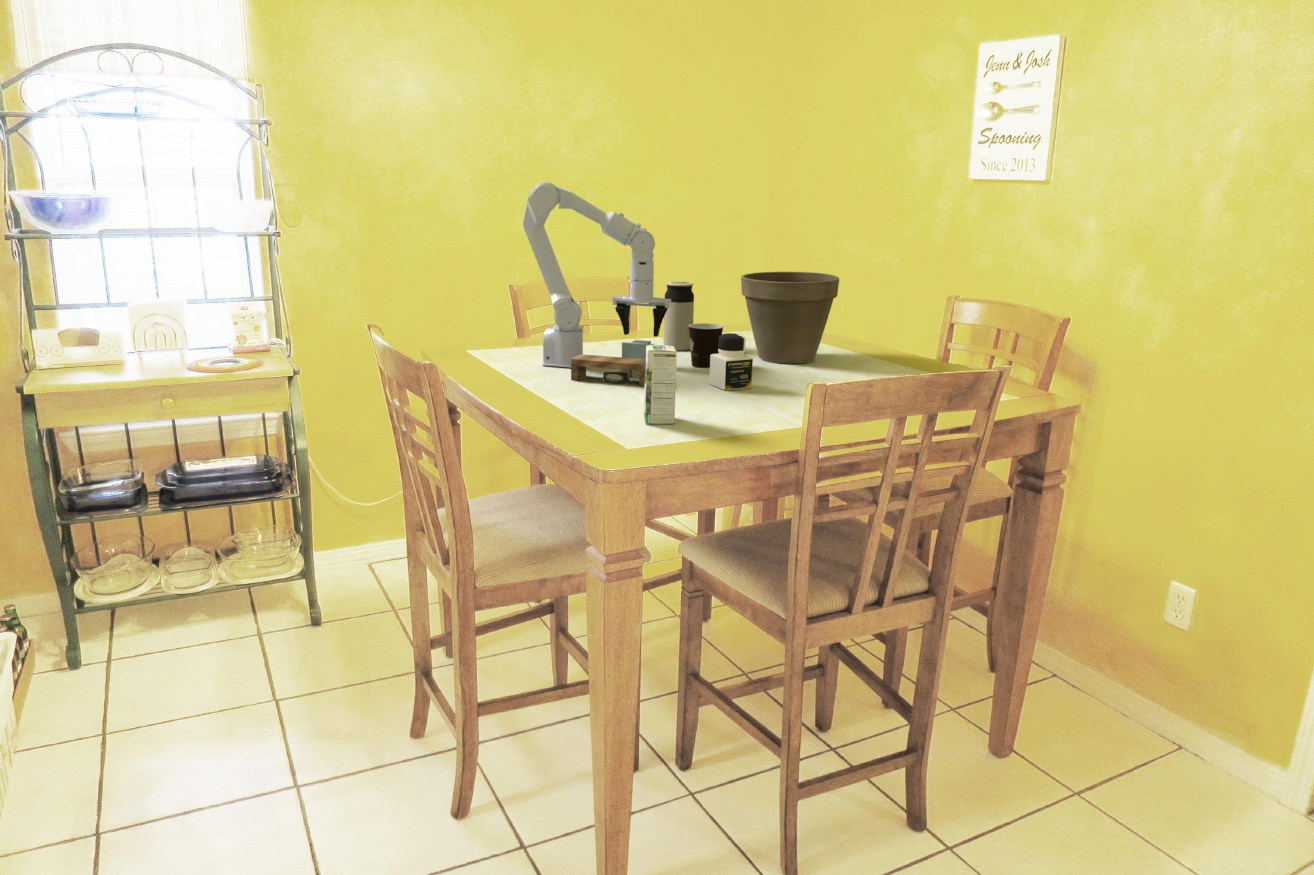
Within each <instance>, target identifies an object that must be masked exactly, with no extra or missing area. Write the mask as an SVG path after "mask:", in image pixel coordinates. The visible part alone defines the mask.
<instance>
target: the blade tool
mask: <svg viewBox="0 0 1314 875" xmlns="http://www.w3.org/2000/svg"><path fill="white" fill-rule="evenodd" d="M649 345H655V344H654V343H652V340H643V339H635V340H633V341H631V342H626V341H622V342H621V357H623V358H636V359H646V346H649ZM627 371H629V379H634V378H635V377H636V376H639V373H640V371H635V370H627Z"/></svg>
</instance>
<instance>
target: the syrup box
mask: <svg viewBox="0 0 1314 875" xmlns="http://www.w3.org/2000/svg"><path fill="white" fill-rule="evenodd" d="M677 353H678V351H676V349H675V347H674V346H668V345H664V344H654V345H649V346H646V366H645V386H644V392H643V393H644V397H643V399H644V400H643V419H644V423H645V425H667V424H668V425H669V424H672V425H674V424H675V414H676V413H675V412H676V409H675V408H676V387H677V386H676V385H677V383H676V382H677V362H678V361H677V358H678V354H677Z"/></svg>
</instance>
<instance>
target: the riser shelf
mask: <svg viewBox="0 0 1314 875" xmlns="http://www.w3.org/2000/svg"><path fill="white" fill-rule="evenodd" d="M645 366H646V359H636V358H623V357H622V356H609V355H608V356H606V355H597V354H596V355H593V354H584V353H583V354H580V355H578V356H576V357H574V358H572V359H571V368H570V381H575V382H578V381H580V380H582V378H585V377H586V376H587V367H589V368H598V369H599V368H600V369H601V368H602V369H623V370H635V371H640V373H639V374H638V376H639V380H638V381H639V385H638V386H639V387H645Z"/></svg>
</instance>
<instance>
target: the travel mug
mask: <svg viewBox="0 0 1314 875" xmlns="http://www.w3.org/2000/svg"><path fill="white" fill-rule="evenodd" d="M665 285H666V288H667V289H666V291H665V292H664V293H665V294H664V299H671V307H669V308H668V309H667V312H666V314H665V316H664V318H663V345H668V346H674V347H675V349H676V351H677V352H684V351H685V352H686V351H691V349H690V337H689V325H690V324H694V311H695V310H694V309H695V308H694V307H695V306H694V305H695V293H694V292H693V286H694V282H692V281H686V280H683V281H682V280H673V281H672V280H671V281H667V282H665Z"/></svg>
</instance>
